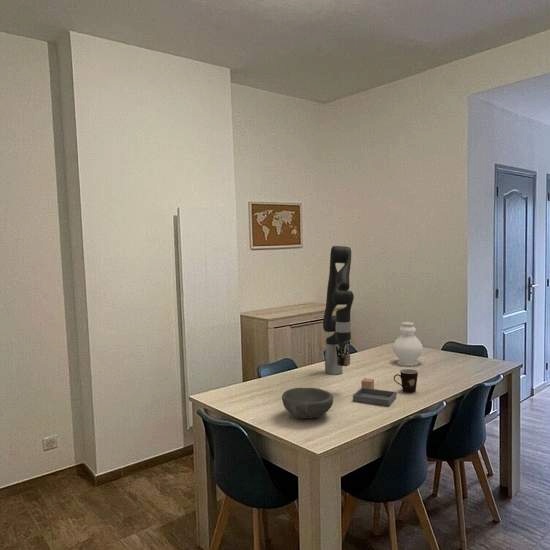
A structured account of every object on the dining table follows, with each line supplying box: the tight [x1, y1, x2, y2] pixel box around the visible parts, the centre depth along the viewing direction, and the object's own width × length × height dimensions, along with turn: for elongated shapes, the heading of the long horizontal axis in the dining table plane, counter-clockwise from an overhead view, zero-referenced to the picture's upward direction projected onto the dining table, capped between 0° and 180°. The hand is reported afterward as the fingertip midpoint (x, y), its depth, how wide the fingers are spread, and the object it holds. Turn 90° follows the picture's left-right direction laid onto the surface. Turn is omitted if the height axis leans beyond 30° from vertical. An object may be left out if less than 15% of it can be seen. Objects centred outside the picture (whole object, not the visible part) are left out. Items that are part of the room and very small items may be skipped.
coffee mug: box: [393, 368, 419, 394], centre depth 244 cm, size 12×9×10 cm
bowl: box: [281, 387, 334, 419], centre depth 213 cm, size 23×22×10 cm
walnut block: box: [337, 353, 351, 368], centre depth 243 cm, size 5×5×5 cm
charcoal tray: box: [352, 388, 397, 407], centre depth 232 cm, size 17×13×3 cm
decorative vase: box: [392, 321, 424, 367], centre depth 297 cm, size 18×18×25 cm
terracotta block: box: [360, 377, 375, 389], centre depth 248 cm, size 5×5×5 cm
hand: (343, 363), depth 243 cm, fingers closed on walnut block, 5 cm apart
